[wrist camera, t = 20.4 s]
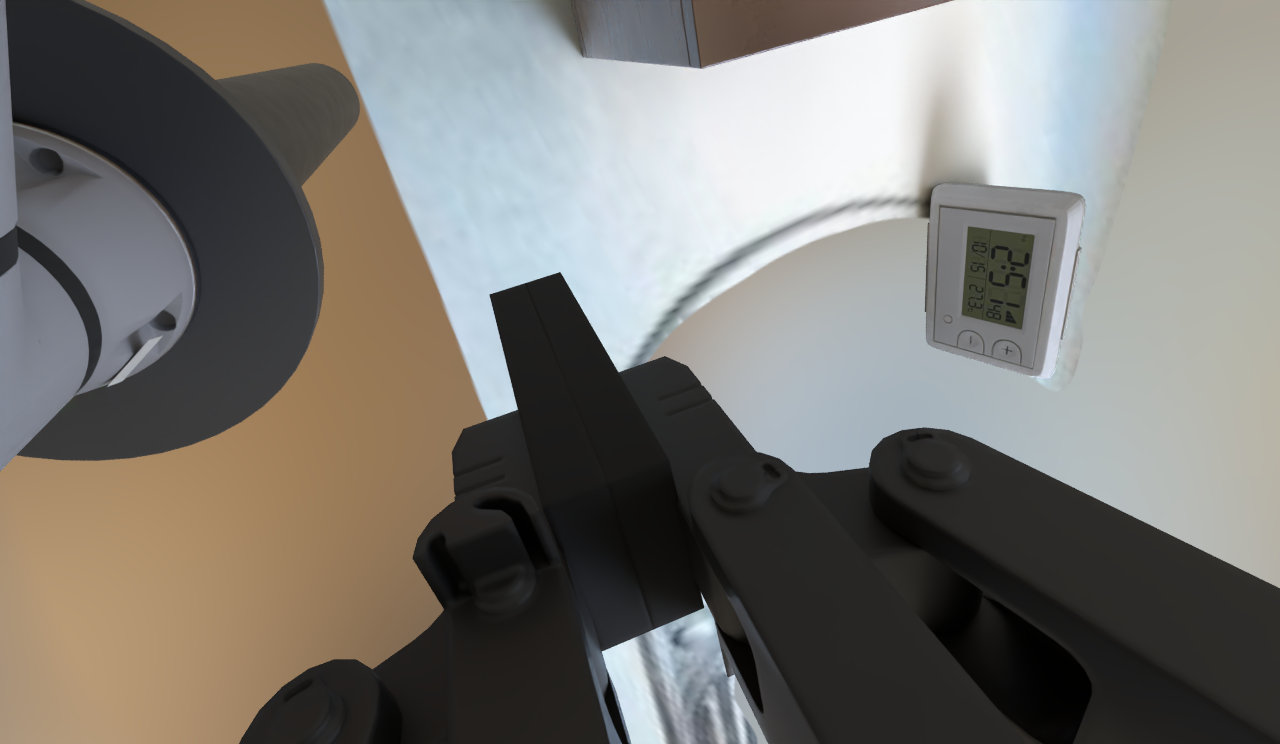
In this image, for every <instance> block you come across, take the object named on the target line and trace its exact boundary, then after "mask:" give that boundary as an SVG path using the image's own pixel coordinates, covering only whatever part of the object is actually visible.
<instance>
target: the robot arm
mask: <svg viewBox="0 0 1280 744" xmlns="http://www.w3.org/2000/svg"><path fill="white" fill-rule="evenodd" d="M200 292H201V276H200V267H199V263H198V258H197V255H196V252H195V249H194V246H193V243H192V241H191V239H190V237H189V235H188V232H187V231H186V229H185V227H184V226H183V224H182V222H181V220H180V219H179V218H178V216H177V215H176V213H175V212H174V211H173V209H172V208H171V207H170V205H169V204H168V203H167V202H166V201H165V200H164V198H163V197H162V196H161V195H160V194H159V193H158V192H157V191H156V190H155V189H154V188H153V187H152V186H151V185H150V184H149V183H148V182H147V181H145V180H144V179H143V178H142V177H141V176H140V175H138V174H137V173H136V172H135V171H133V170H132V169H131V168H129V167H128V166H127V165H125V164H124V163H122V162H121V161H119V160H118V159H116V158H115V157H113V156H111V155H110V154H108V153H106V152H105V151H103V150H101V149H99V148H97V147H96V146H94V145H92V144H90V143H88V142H86V141H83V140H81V139H79V138H77V137H75V136H72V135H70V134H67V133H64V132H62V131H59V130H56V129H53V128H50V127H47V126H44V125H40V124H36V123H32V122H28V121H24V120H19V119H13V118H12V109H11V92H10V75H9V58H8V41H7V23H6V6H5V0H0V471H1V470H2V469H3V468H4V467H5V466H6V465H7V464H8V463H9V462H10V461H11V460H12V458H13V457H15V456H16V455H17V454H18V453H19V452H20V451H21V450H22V449H23V447H24V446H25V445H26V444H27V443H28V442H29V441H30V440H31V439H32V438H33V437H34V436H35V435H36V434H37V433H38V432H39V431H40V430H41V429H42V428H43V427H44V426H45V425H46V424H47V423H48V422H49V421H50V420H51V419H52V418H53V417H54V416H55V415H56V414H57V413H58V412H59V411H60V410H61V409H62V408H63V407H64V406H65V405H66V404H67V403H68V402H69V401H70V400H71V399H72V398H73V397H74V396H75V395H78V394H81V393H84V392H87V391H90V390H93V389H96V388H99V387H102V386H105V385H108V384H109V385H108V386H111V385H113V384H116V383H119V382H121V381H123V380H124V379H125V378H127V377H129V376H132V375H134V374H136V373H137V372H139V371H141V370H143V369H144V368H146V367H148V366H149V365H151V364H152V363H153V362H155V361H156V360H158V359H159V358H160V357H162V356H163V355H164V354H165V353H166V352H168V351H169V350H170V349H171V348H172V347H173V346H174V344H175V343H176V342H177V341H178V340H179V338H180V337H181V336H182V335H183V334H184V332H185V331H186V330H187V328H188V326H189V325H190V323H191V322H192V319H193V317H194V315H195V313H196V310H197V307H198V303H199V298H200ZM490 298H491V302H492V306H493V311H494V315H495V319H496V323H497V327H498V331H499V335H500V339H501V343H502V347H503V351H504V355H505V359H506V363H507V367H508V371H509V375H510V379H511V383H512V387H513V392H514V396H515V400H516V404H517V408H518V410H516V411H513V412H511V413H508V414H505V415H502V416H499V417H496V418H493V419H491V420H488V421H485V422H482V423H479V424H476V425H474V426H471V427H468V428H465V429H463V431H462V433H461V435H460V437H459V439H458V441H457V443H456V445H455V447H454V449H453V451H452V461H453V474H454V492H455V495H456V497H455V501H454V502H453V503H451V504H450V505H448V506H447V507H446V508H445V509H443V510H442V511H441V512H440V513H439V514H437V515H436V516H435V517H434V518H433V519H431V521H430V522H429V523H428V525H427V526H426V528H425V529H424V531H423V532H422V534H421V535H420V536H419V538H418V540H417V543H416V547H415V551H414V555H413V560H414V561H415V563H416V564H417V566H418V568H419V570H420V571H421V573H422V574H423V576H424V578H425V579H426V581H427V583H428V584H429V586H430V587H431V589H432V591H433V592H434V594H435V595H436V597H437V599H438V600H439V602H440V603H441V605H442V607H443V608H444V611H443V612H442V613H441V615H440V616H439V617H438V618H437V619H436V620H435V621H434V623H433V624H432V625H431V626H430V627H429V628H428V629H427V630H425V631H424V632H423V633H422V634H421V635H419V636H418V637H417V638H416V639H415V640H413V641H412V642H411V643H409V644H408V645H407V646H405V647H404V648H402V649H401V650H400V651H398V652H397V653H395V654H394V655H392V656H391V657H390V658H388V659H387V660H385V661H384V662H382V663H381V664H380V665H378V666H377V667H375V668H374V669H371V668H369V667H368V666H366V665H364V664H363V663H361V662H359V661H358V660H355V659H354V660H353V659H350V660H348V659H347V660H346V659H345V660H344V659H342V660H341V659H339V660H338V659H336V660H335V659H334V660H331V661H329V662H326V663H323V664H321V665H318V666H315V667H312V668H310V669H308V670H306V671H305V672H303V673H302V674H300V675H299V676H297V677H296V678H294V679H293V680H292V681H290V682H288V683H287V684H286V685H284V686H283V687H282V688H281V689H280V690H279V691H278V692H277V693H276V694H275V695H274V696H273V697H272V698H271V699H270V700H269V701H268V702H267V703H266V704H265V705H264V706H263V707H262V708H261V709H260V710H259V712H258V713H257V715H256V717H255V718H254V720H253V721H252V723H251V725H250V726H249V728H248V729H247V731H246V732H245V734H244V736H243V737H242V739H241V741H240V743H239V744H631V741H630V738H629V734H628V731H627V727H626V724H625V721H624V717H623V714H622V710H621V707H620V704H619V700H618V697H617V693H616V690H615V688H614V685H613V683H612V681H611V678H610V676H609V673H608V671H607V669H606V665H605V662H604V658H603V655H602V651H604V650H606V649H609V648H611V647H613V646H616V645H618V644H620V643H623V642H625V641H627V640H630V639H632V638H635V637H637V636H639V635H642V634H644V633H646V632H649V631H651V630H653V629H656V628H658V627H660V626H663V625H665V624H668V623H670V622H672V621H675V620H677V619H679V618H682V617H684V616H686V615H689V614H691V613H693V612H696V611H698V610H700V609H703V608H704V605H703V600H702V596H701V593H702V595H703V597H704V599H705V601H706V603H707V605H708V607H709V609H710V611H711V613H712V615H713V617H714V620H715V625H716V629H717V634H718V638H719V642H720V647H721V651H722V656H723V660H724V664H725V668H726V672H727V677H730V676H732V675H734V674H735V676H736V678H737V680H738V682H739V684H740V686H741V688H742V690H743V693H744V694H745V696H746V699H747V701H748V703H749V705H750V707H751V709H752V711H753V713H754V715H755V717H756V719H757V721H758V724H759V725H760V728H761V730H762V732H763V734H764V736H765V738H766V740H767V742H768V744H1280V588H1278V587H1276V586H1274V585H1272V584H1270V583H1268V582H1265V581H1263V580H1261V579H1259V578H1257V577H1255V576H1253V575H1251V574H1249V573H1247V572H1245V571H1243V570H1241V569H1239V568H1237V567H1235V566H1233V565H1231V564H1229V563H1227V562H1225V561H1223V560H1221V559H1218V558H1216V557H1214V556H1212V555H1210V554H1208V553H1206V552H1204V551H1202V550H1200V549H1198V548H1196V547H1194V546H1192V545H1190V544H1188V543H1185V542H1184V541H1181V540H1179V539H1177V538H1175V537H1173V536H1171V535H1169V534H1167V533H1165V532H1163V531H1161V530H1159V529H1157V528H1155V527H1153V526H1151V525H1149V524H1147V523H1145V522H1143V521H1141V520H1138V519H1136V518H1134V517H1132V516H1130V515H1128V514H1126V513H1124V512H1122V511H1120V510H1118V509H1116V508H1114V507H1112V506H1110V505H1108V504H1106V503H1104V502H1102V501H1100V500H1098V499H1095V498H1093V497H1091V496H1089V495H1087V494H1085V493H1083V492H1081V491H1079V490H1077V489H1075V488H1073V487H1071V486H1069V485H1067V484H1065V483H1063V482H1061V481H1059V480H1056V479H1054V478H1052V477H1050V476H1048V475H1046V474H1044V473H1042V472H1040V471H1038V470H1036V469H1034V468H1032V467H1030V466H1028V465H1026V464H1024V463H1022V462H1019V461H1018V460H1015V459H1014V458H1011V457H1009V456H1007V455H1005V454H1003V453H1001V452H999V451H997V450H995V449H993V448H991V447H989V446H987V445H985V444H983V443H981V442H979V441H976V440H974V439H973V438H970V437H967V436H964V435H961V434H958V433H955V432H953V431H950V430H943V429H933V428H916V429H909V430H902V431H899V432H897V433H895V434H892V435H890V436H888V437H885V438H883V439H882V441H880V443H879V444H878V445H877V446H876V447H875V448H874V449H873V450H872V453H871V458H870V463H869V467H868V468H861V469H852V470H845V471H836V472H828V473H803V472H795V471H794V470H793V469H792V468H791V467H789V466H788V465H786V463H784V462H783V461H782V460H780V459H778V458H776V457H773V456H770V455H766V454H763V453H759V452H756V451H755V450H754V448H753V447H752V446H751V445H750V443H749V442H748V441H747V440H746V438H745V437H744V436H743V435H742V433H741V432H740V431H739V430H738V429H737V427H736V426H735V425H734V424H733V422H732V421H731V420H730V418H729V417H728V416H727V415H726V413H724V411H723V410H722V409H721V407H720V406H719V405H718V404H717V402H716V401H715V400H713V399H712V397H711V395H710V394H709V392H708V391H707V390H706V389H705V387H704V386H702V385H701V383H700V381H699V380H698V379H697V377H696V376H695V375H694V374H693V373H692V371H691V370H690V369H689V367H688V366H686V365H684V364H681V363H679V362H677V361H675V360H672V359H670V358H668V357H666V356H664V357H661V358H658V359H656V360H653V361H650V362H647V363H644V364H641V365H638V366H636V367H633V368H630V369H627V370H624V371H621V372H618V371H617V369H616V367H615V366H614V364H613V362H612V361H611V359H610V357H609V355H608V354H607V352H606V350H605V348H604V347H603V345H602V343H601V342H600V340H599V338H598V336H597V335H596V333H595V331H594V329H593V328H592V326H591V324H590V323H589V321H588V319H587V317H586V316H585V314H584V312H583V310H582V309H581V307H580V305H579V304H578V302H577V300H576V298H575V297H574V295H573V293H572V291H571V290H570V288H569V286H568V285H567V283H566V281H565V279H564V278H563V276H562V274H561V272H559V273H556V274H553V275H550V276H547V277H544V278H540V279H537V280H534V281H531V282H528V283H525V284H521V285H518V286H515V287H512V288H509V289H506V290H503V291H499V292H496V293H493V294H490ZM108 386H107V387H108ZM700 591H701V592H700Z"/></svg>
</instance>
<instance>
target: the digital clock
mask: <svg viewBox="0 0 1280 744" xmlns="http://www.w3.org/2000/svg"><path fill="white" fill-rule="evenodd" d="M1085 210H1086V203H1085V199H1084V197H1083V196H1081V195H1080V194H1077V193H1072V192H1065V191H1056V190H1043V189H1031V188H1018V187H1006V186H993V185H980V184H968V183H953V182H949V183H942V184H939V185H937V186H936V187H935V188H934V189H933V192H932V196H931V208H930V223H928V236H927V238H928V239H927V265H926V294H925V295H926V296H925V312H926V340H927V343H928V344H929V345H930V346H932V347H934V348H936V349H940V350H943V351H946V352H949V353H953V354H956V355H960V356H963V357H966V358H970V359H973V360H977V361H980V362H984V363H987V364H990V365H994V366H997V367H1000V368H1004V369H1007V370H1011V371H1014V372H1017V373H1021V374H1025V375H1028V376H1032V377H1037V378H1043V379H1046V378H1049V377H1051V376H1052V374H1053V373H1054V371H1055V370H1056V367H1057V363H1058V358H1059V353H1060V348H1061V342H1062V340H1063V339H1064V338H1065V334H1066V329H1067V323H1068V318H1069V312H1070V307H1071V302H1072V296H1073V291H1074V286H1075V280H1076V275H1077V269H1078V264H1079V259H1080V253H1081V247H1080V239H1081V233H1082V227H1083V222H1084V216H1085Z"/></svg>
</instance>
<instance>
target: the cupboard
mask: <svg viewBox="0 0 1280 744" xmlns="http://www.w3.org/2000/svg"><path fill="white" fill-rule="evenodd" d="M570 1H571V5H572V10H573V14H574V18H575V23H576V27H577V32H578V36H579V40H580V45H581V49H582V53H583V57H584V58H596V59H607V60H617V61H628V62H638V63H649V64H660V65H670V66H681V67H691V68H699V69H703V68H707V67H710V66H714V65H718V64H721V63H725V62H729V61H732V60H736V59H740V58H743V57H747V56H751V55H754V54H758V53H762V52H765V51H769V50H773V49H776V48H780V47H784V46H787V45H791V44H795V43H798V42H802V41H806V40H809V39H813V38H817V37H820V36H824V35H828V34H832V33H835V32H839V31H843V30H846V29H850V28H854V27H857V26H861V25H865V24H868V23H872V22H876V21H879V20H883V19H887V18H890V17H894V16H898V15H901V14H905V13H909V12H912V11H916V10H920V9H923V8H927V7H931V6H934V5H938V4H942V3H945V2H949V1H953V0H570Z"/></svg>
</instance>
